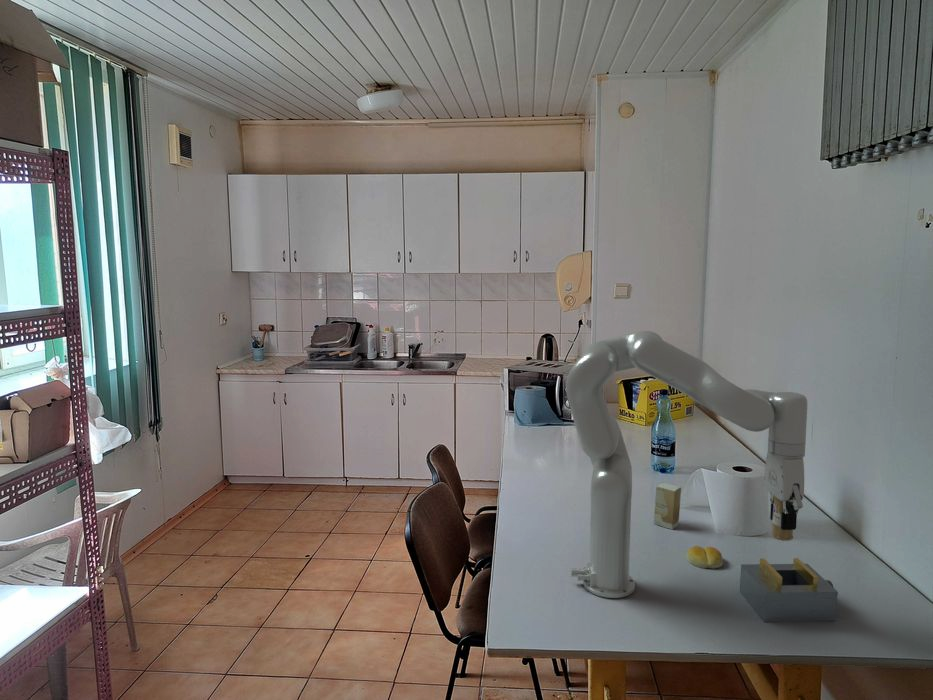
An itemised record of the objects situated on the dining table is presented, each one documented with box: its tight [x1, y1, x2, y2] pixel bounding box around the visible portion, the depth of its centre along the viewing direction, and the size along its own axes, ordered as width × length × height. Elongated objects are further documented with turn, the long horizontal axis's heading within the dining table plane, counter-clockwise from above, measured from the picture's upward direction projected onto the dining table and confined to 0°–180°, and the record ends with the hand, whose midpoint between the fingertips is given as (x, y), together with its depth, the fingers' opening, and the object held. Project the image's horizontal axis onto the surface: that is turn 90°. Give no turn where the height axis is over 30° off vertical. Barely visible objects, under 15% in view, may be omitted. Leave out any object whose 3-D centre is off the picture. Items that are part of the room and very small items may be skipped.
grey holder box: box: [739, 557, 839, 623], centre depth 152 cm, size 18×13×10 cm
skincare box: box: [653, 482, 682, 530], centre depth 196 cm, size 6×4×12 cm
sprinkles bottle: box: [771, 496, 794, 542], centre depth 149 cm, size 5×5×14 cm
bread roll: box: [686, 545, 724, 570], centre depth 174 cm, size 8×9×4 cm
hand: (782, 523), depth 150 cm, fingers closed on sprinkles bottle, 4 cm apart
